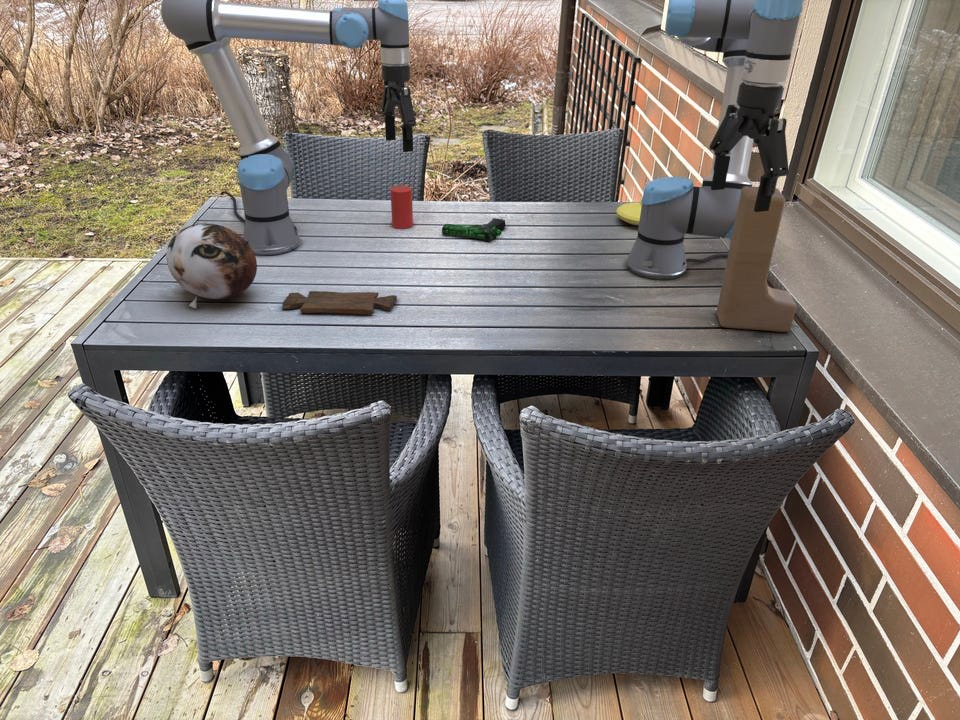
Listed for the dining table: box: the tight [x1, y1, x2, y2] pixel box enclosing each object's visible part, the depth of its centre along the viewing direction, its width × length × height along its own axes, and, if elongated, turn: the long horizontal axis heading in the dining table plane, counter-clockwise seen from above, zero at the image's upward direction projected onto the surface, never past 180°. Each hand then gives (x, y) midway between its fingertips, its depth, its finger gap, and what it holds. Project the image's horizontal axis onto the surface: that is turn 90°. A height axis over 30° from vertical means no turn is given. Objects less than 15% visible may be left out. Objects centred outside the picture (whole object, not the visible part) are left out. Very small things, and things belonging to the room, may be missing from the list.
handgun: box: [441, 217, 506, 242], centre depth 207 cm, size 16×3×15 cm
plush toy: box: [165, 222, 258, 309], centre depth 165 cm, size 22×18×20 cm
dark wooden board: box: [281, 290, 398, 315], centre depth 165 cm, size 26×2×10 cm
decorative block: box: [716, 186, 797, 333], centre depth 153 cm, size 8×15×30 cm, turn 82°
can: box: [389, 185, 414, 230], centre depth 209 cm, size 6×6×11 cm
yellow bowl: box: [616, 198, 642, 227], centre depth 215 cm, size 16×16×7 cm
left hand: (399, 145), depth 200 cm, fingers open, 13 cm apart
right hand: (738, 199), depth 138 cm, fingers open, 13 cm apart
